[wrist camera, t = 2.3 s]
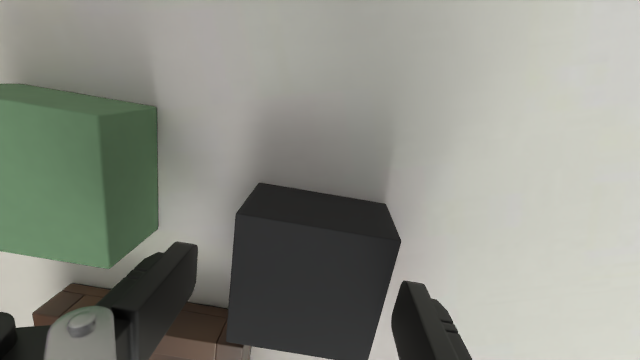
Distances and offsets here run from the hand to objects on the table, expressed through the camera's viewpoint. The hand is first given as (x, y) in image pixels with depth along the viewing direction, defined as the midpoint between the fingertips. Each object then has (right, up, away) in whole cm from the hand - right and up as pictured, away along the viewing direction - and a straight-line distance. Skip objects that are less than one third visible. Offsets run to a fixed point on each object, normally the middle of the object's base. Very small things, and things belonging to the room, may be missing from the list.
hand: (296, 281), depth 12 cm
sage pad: (-9, +5, +1) cm, 10 cm away
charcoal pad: (+1, +1, +2) cm, 2 cm away
